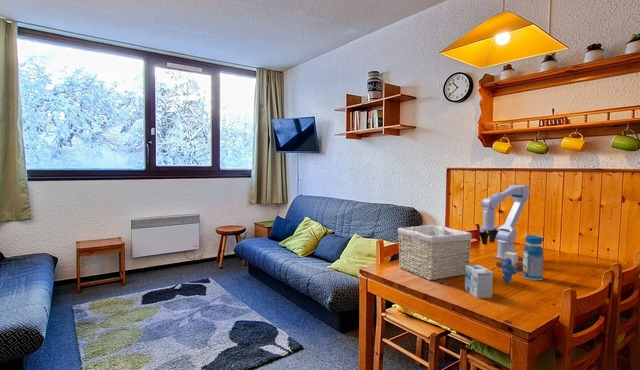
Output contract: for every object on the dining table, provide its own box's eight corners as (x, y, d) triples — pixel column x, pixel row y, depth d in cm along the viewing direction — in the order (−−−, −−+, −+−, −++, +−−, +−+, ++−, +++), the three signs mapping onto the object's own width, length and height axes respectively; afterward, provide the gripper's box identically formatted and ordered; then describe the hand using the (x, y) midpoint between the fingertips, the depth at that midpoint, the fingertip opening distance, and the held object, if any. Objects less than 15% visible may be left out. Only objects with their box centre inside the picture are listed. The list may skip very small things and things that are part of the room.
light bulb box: (464, 289, 154) (464, 264, 153) (479, 288, 154) (479, 264, 154) (477, 298, 143) (477, 272, 143) (493, 298, 144) (493, 272, 143)
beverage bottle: (535, 281, 163) (537, 239, 162) (518, 276, 170) (519, 235, 169) (546, 279, 167) (548, 237, 166) (529, 274, 174) (530, 234, 173)
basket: (434, 261, 198) (435, 222, 197) (473, 274, 174) (474, 231, 172) (395, 267, 186) (395, 226, 185) (431, 283, 162) (432, 236, 161)
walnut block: (506, 264, 193) (506, 258, 193) (525, 268, 185) (525, 263, 185) (496, 267, 187) (496, 261, 187) (515, 272, 179) (515, 266, 179)
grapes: (515, 288, 154) (516, 261, 153) (498, 285, 158) (499, 259, 157) (519, 281, 163) (520, 256, 163) (503, 278, 167) (504, 253, 167)
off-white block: (508, 260, 189) (508, 251, 189) (518, 262, 186) (518, 253, 185) (504, 262, 186) (504, 253, 186) (514, 264, 182) (514, 255, 182)
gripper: (489, 217, 205) (488, 240, 206) (474, 219, 197) (474, 243, 198) (501, 219, 200) (500, 242, 200) (487, 221, 191) (486, 246, 192)
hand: (488, 243), depth 199 cm, fingers open, 7 cm apart
